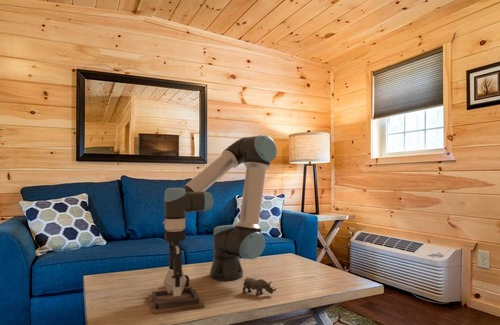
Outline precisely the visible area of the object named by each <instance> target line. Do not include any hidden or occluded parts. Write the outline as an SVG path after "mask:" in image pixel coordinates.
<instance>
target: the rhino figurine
mask: <svg viewBox="0 0 500 325" xmlns="http://www.w3.org/2000/svg"><path fill="white" fill-rule="evenodd" d="M271 284H272V281H270V282H268V281H266V280H265V279H262V278H260V279H259V278H258V279H255V278H252V277H246V278H245V279H244V282H243V284H242V285H243V287H242V291H241V292H242V294H247V293H252V292H253V291H256V293H255V296H260V295H263V294H264V292H263V290H265V292H267V293H269V294H271V295H272V294H273V293H274V292H275V291H276V290H277V288H276V287H275V288H274V287H271ZM246 289H247V291H246Z"/></svg>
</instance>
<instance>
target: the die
mask: <svg viewBox="0 0 500 325" xmlns="http://www.w3.org/2000/svg"><path fill="white" fill-rule="evenodd" d="M177 274H179V273H177ZM185 275H186V274H185V273H184V270H183V269H182V277H181V293H182V292H183V289H184V286H185V283H186V277H185ZM172 276H174V271H173V270H171V269H168V270H167V272H166V274H165V277H164V279H163V284H164V286H165V290H167V292H168V294H169V293H173V278H172Z"/></svg>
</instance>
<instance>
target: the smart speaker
mask: <svg viewBox="0 0 500 325" xmlns="http://www.w3.org/2000/svg"><path fill="white" fill-rule="evenodd" d="M184 275H185V277H186V283H185V286H184V288H185V287H186V288H188V287H189V286H190V277H189V275H186V274H184Z"/></svg>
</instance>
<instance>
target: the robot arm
mask: <svg viewBox="0 0 500 325" xmlns="http://www.w3.org/2000/svg"><path fill="white" fill-rule="evenodd" d="M277 153H278V149H277V145H276V143H275V140H274V139H273V138H271V136H268V135H254V136H247V137H241V138H239V139H237V140H235V142H233V143H232V144H231V145H229V146H227V148H225V149H224V150H223V151H221V155H220V156H218V157H217V158H216V159H214V161H213V162H211V163H210V164H209V165H208V166H206V168H204V169H203V170H202V171H201V172H199V173H198V174H197V175H196V176H194V177H193V178H192V179H191V180H190V181H188V182H187V183H186V184H185V185H183V186H182V187H168V188H166V189H165V191H164V200H163V202H164V221H162V224H163V225H164V230H165V231H164V242H167V243H168V270H173V271H174V276H172V278H173V296H180V295H181V277H182V270H183V268H182V266H183V264H182V246H181V244H180V242H184V241H185V240H186V213H194V212H195V213H196V212H207V211H210V210H212V208H213V207H214V197H213V195H212V194H211V192H208V191H207V190H208V189H209V188H210V187H211V186H213V185H214V184H215V183H216V182H217V181H218V180H219V179H221V178H222V177H223V176H224V175H225V174H227V173H228V172H229V171H230V170H231V169H233V168H234V169H235V168H237V167H238V166H239V165H241V164H243V165H244V166H245V167H246V170H245V175H244V176H245V178H244V184H243V191H242V198H241V206H240V212H239V213H240V214H239V221H238V222H237V223H235V224H227V225H218V226H216V227H214V228H213V234H212V235H213V236H212V237H213V260H212V263H211V267H210V271H209V277H210V278H211V279H213V280H217V281H233V280H234V281H235V280H238V279H240V278H242V277H243V276H244V271H243V270H244V269H243V267H242V263H241V260H240V258H242V259H245V260H256V259H257V258H259V257H260V256H261V255H262V254H263V252H264V250H265V247H266V240H265V237H264V235H263V234H262V227H261V225H260V216H261V208H262V202H263V200H262V199H263V193H264V185H265V180H266V179H265V178H266V171H267V170H268V169H270V166H271V162H272V161H274V160H275V159H276V157H277ZM177 273H179V274H177Z"/></svg>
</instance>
